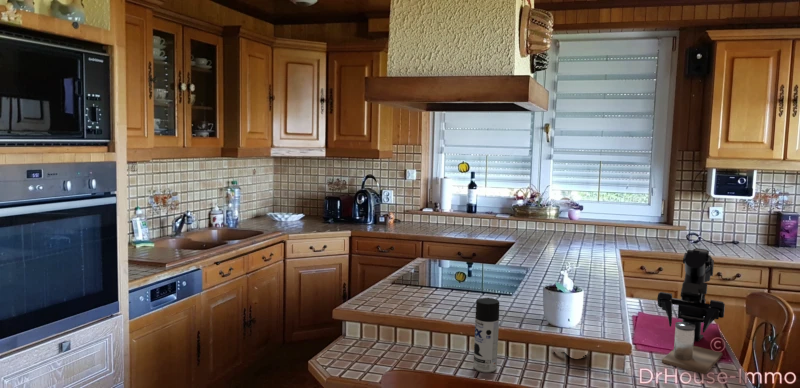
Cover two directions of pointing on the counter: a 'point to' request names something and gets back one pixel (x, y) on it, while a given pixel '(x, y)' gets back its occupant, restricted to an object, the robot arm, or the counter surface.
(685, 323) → the metal tin
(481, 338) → the spray can
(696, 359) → the tan wooden panel
